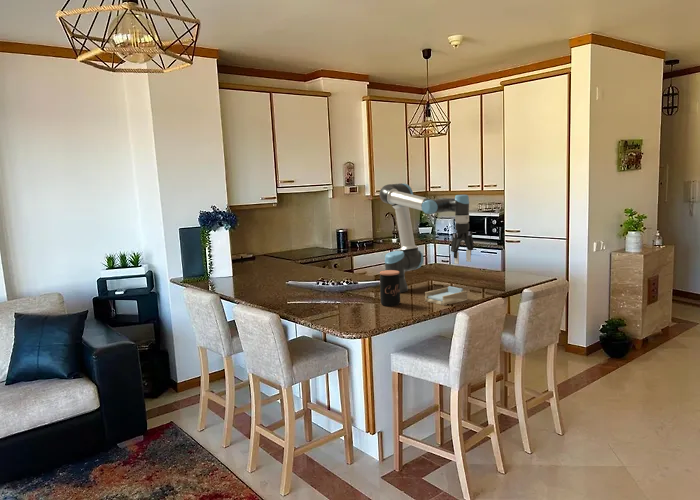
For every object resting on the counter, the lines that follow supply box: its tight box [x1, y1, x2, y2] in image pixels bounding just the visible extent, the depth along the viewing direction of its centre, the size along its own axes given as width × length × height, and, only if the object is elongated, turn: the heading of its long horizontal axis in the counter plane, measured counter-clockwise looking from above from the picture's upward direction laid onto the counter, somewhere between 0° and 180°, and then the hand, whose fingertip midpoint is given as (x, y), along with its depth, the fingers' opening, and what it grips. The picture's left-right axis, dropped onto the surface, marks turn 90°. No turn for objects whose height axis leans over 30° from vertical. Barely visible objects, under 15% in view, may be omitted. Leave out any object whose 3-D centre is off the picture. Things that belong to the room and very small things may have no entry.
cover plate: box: [428, 285, 464, 301], centre depth 295 cm, size 12×17×4 cm
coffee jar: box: [379, 270, 401, 307], centre depth 291 cm, size 11×11×18 cm
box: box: [424, 286, 468, 306], centre depth 295 cm, size 14×18×5 cm
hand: (462, 262), depth 300 cm, fingers open, 9 cm apart
